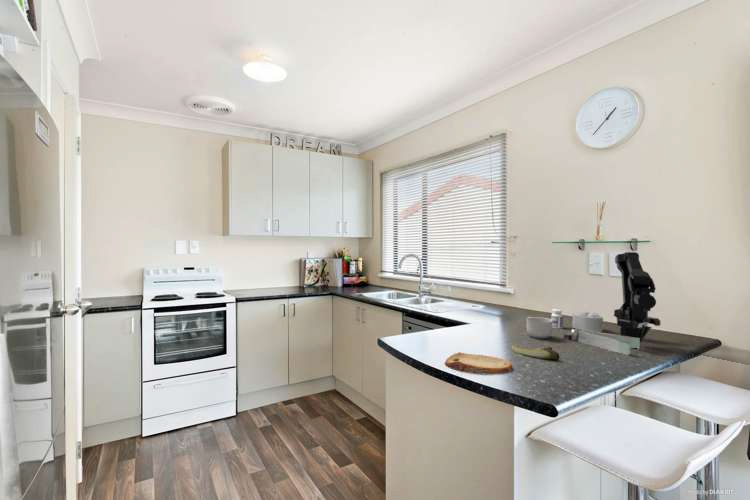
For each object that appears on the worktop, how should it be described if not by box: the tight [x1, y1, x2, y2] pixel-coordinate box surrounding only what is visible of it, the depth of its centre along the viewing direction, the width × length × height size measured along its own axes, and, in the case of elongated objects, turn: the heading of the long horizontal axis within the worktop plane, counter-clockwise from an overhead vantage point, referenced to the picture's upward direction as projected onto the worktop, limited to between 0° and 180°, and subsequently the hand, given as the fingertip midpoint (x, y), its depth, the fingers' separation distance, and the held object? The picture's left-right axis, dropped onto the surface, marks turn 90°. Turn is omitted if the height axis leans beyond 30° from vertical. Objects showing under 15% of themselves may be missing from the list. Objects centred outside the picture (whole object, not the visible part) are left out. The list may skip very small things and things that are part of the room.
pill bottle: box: [550, 308, 564, 329], centre depth 178 cm, size 5×5×9 cm
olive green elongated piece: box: [510, 343, 560, 361], centre depth 133 cm, size 20×10×3 cm, turn 38°
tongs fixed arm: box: [563, 328, 631, 356], centre depth 145 cm, size 26×4×4 cm, turn 22°
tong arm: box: [581, 330, 641, 350], centre depth 148 cm, size 20×1×4 cm, turn 52°
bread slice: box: [444, 352, 514, 375], centre depth 117 cm, size 18×18×4 cm
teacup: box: [525, 316, 553, 339], centre depth 160 cm, size 14×11×8 cm
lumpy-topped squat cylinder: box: [572, 310, 604, 332], centre depth 174 cm, size 10×13×9 cm
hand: (638, 343), depth 145 cm, fingers closed
